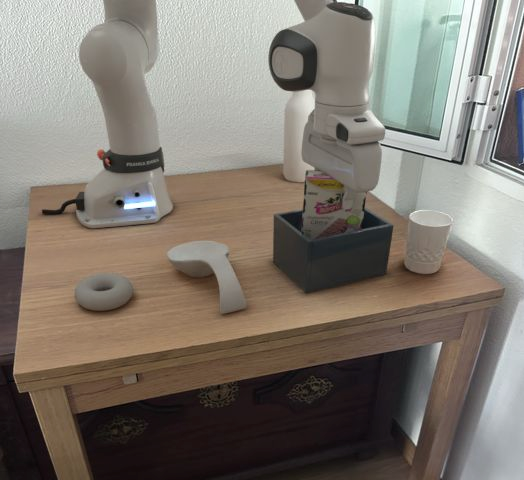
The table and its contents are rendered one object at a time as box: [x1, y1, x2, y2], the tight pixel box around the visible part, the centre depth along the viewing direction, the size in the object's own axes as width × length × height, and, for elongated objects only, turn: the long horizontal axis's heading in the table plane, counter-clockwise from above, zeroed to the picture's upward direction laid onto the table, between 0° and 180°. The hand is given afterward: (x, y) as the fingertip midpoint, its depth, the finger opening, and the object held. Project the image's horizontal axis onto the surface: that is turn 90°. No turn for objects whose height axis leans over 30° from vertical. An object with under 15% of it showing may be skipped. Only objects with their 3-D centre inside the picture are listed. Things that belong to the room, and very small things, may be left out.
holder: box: [272, 207, 395, 294], centre depth 103 cm, size 18×14×10 cm
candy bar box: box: [301, 170, 368, 240], centre depth 100 cm, size 11×5×16 cm, turn 85°
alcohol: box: [282, 90, 315, 183], centre depth 140 cm, size 9×9×30 cm
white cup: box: [403, 209, 454, 275], centre depth 103 cm, size 8×8×10 cm
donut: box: [74, 272, 134, 312], centre depth 95 cm, size 10×4×10 cm
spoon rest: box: [166, 240, 247, 315], centre depth 99 cm, size 24×12×7 cm, turn 26°
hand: (333, 200), depth 98 cm, fingers closed on candy bar box, 6 cm apart
